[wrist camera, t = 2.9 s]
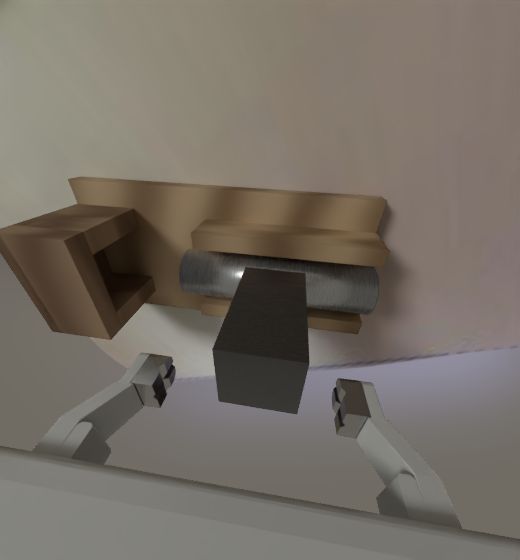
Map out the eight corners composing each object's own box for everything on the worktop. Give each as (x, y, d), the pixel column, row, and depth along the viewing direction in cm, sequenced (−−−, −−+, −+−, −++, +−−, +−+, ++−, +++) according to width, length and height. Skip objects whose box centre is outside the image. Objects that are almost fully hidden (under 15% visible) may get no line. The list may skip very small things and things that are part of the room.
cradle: (381, 196, 16) (435, 238, 10) (342, 319, 23) (359, 392, 16) (80, 176, 19) (-35, 199, 12) (123, 292, 25) (63, 347, 19)
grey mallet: (370, 255, 17) (443, 382, 9) (356, 297, 20) (403, 432, 11) (194, 239, 19) (102, 333, 10) (200, 279, 21) (128, 386, 12)
